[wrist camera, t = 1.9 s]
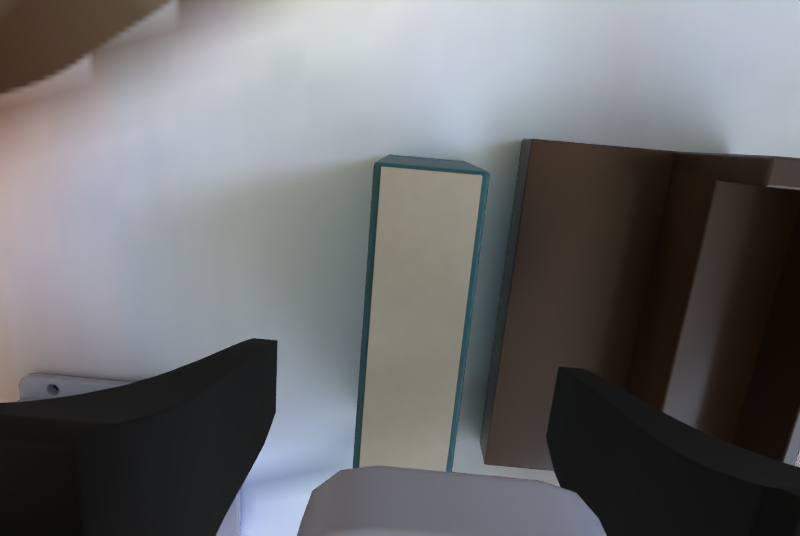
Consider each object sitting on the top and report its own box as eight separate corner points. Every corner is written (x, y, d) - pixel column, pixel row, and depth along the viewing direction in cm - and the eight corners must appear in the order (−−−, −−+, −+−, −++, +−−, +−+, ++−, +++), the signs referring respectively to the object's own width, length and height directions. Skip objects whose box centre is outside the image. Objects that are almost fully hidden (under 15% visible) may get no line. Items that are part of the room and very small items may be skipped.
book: (368, 411, 22) (348, 522, 16) (387, 154, 19) (373, 162, 13) (436, 417, 22) (444, 532, 15) (466, 161, 19) (491, 172, 13)
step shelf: (479, 442, 22) (503, 560, 16) (522, 138, 19) (574, 138, 13) (660, 458, 22) (756, 583, 16) (735, 157, 19) (892, 166, 13)
